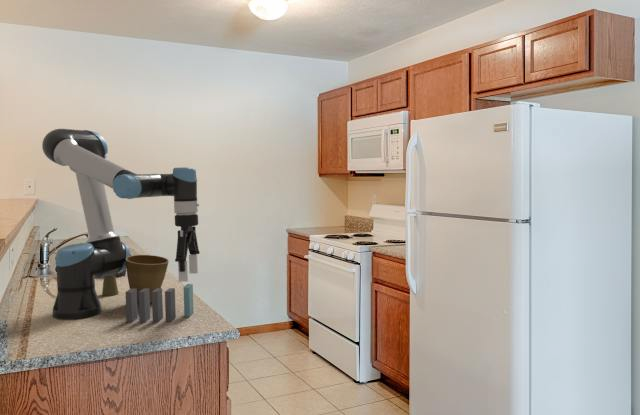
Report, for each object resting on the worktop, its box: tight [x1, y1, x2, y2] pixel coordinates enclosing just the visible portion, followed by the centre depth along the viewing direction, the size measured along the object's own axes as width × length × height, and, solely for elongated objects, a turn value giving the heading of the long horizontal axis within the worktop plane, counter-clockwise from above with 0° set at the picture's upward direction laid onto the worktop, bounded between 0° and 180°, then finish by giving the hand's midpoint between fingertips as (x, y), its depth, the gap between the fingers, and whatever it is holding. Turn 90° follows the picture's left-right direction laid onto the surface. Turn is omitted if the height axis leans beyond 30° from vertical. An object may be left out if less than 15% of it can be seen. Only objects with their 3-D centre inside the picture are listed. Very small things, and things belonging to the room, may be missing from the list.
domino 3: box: [151, 287, 164, 324], centre depth 170 cm, size 2×5×10 cm, turn 0°
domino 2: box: [138, 288, 151, 324], centre depth 171 cm, size 2×5×10 cm, turn 0°
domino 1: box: [124, 288, 138, 324], centre depth 171 cm, size 2×5×10 cm, turn 0°
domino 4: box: [164, 287, 177, 323], centre depth 170 cm, size 2×5×10 cm, turn 0°
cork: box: [101, 275, 119, 297], centre depth 207 cm, size 6×6×11 cm
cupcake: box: [115, 268, 127, 278], centre depth 244 cm, size 10×10×10 cm
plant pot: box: [126, 254, 170, 305], centre depth 193 cm, size 15×15×16 cm
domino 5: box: [183, 283, 194, 318], centre depth 176 cm, size 2×5×10 cm, turn 0°
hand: (188, 277), depth 176 cm, fingers open, 13 cm apart
